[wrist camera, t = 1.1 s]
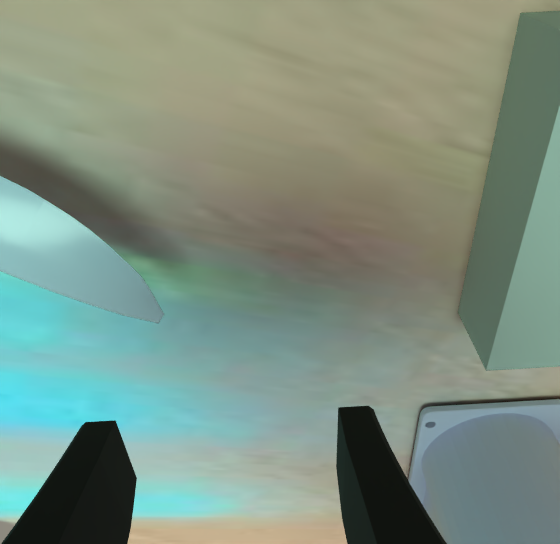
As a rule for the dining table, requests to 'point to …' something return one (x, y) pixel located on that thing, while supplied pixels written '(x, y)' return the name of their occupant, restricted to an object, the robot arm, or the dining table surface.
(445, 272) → the dining table surface
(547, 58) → the t block
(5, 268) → the propeller
